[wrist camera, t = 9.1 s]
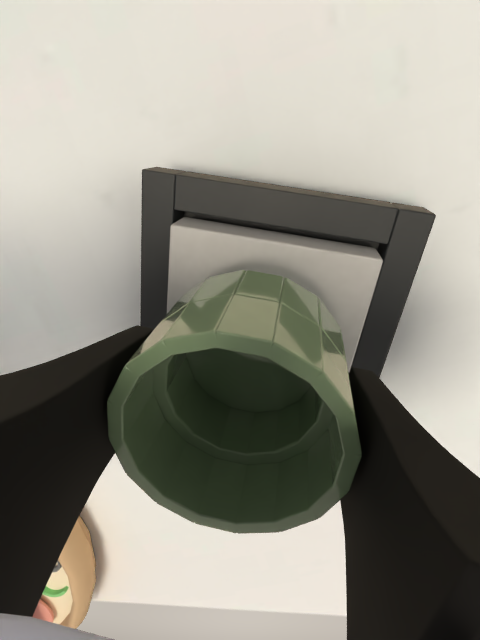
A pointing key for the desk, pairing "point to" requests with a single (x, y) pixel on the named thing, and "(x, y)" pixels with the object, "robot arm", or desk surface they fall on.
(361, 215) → the black square base
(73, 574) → the toy pizza
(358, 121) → the desk surface
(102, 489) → the desk surface
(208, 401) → the bowl
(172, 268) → the button plate
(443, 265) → the desk surface
